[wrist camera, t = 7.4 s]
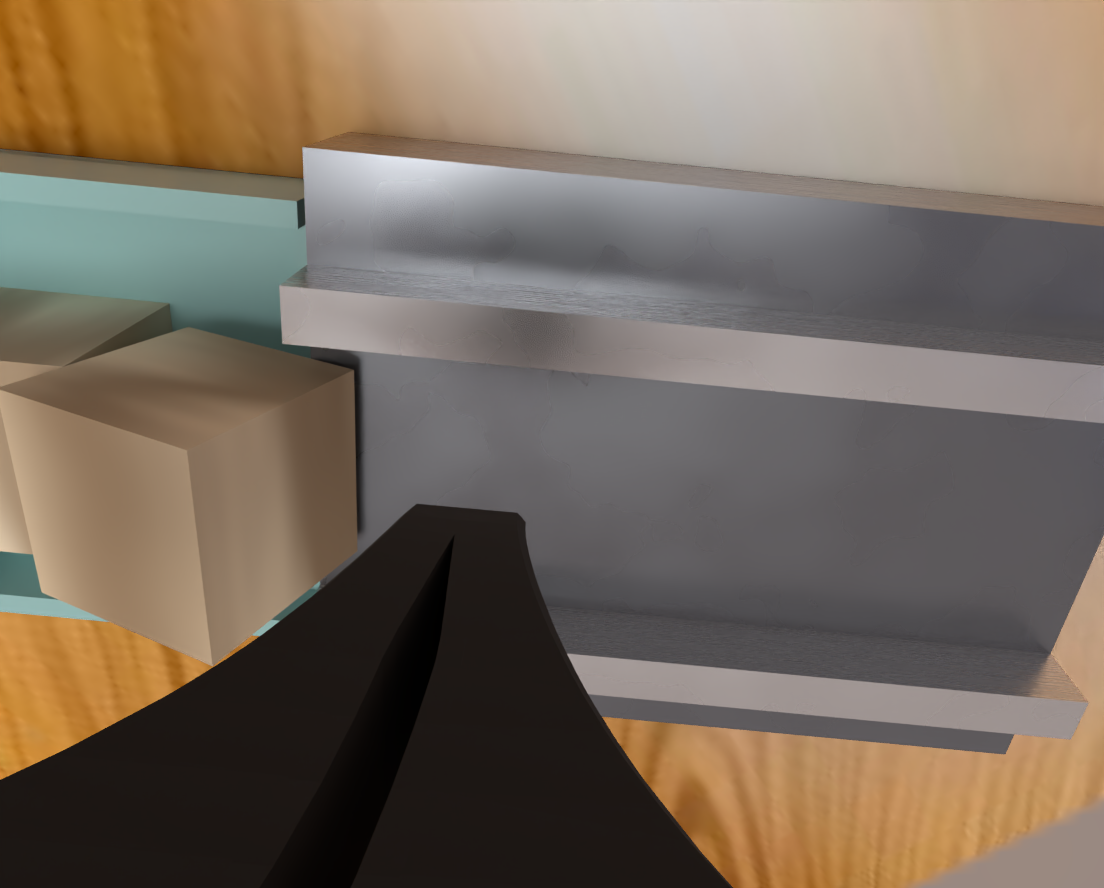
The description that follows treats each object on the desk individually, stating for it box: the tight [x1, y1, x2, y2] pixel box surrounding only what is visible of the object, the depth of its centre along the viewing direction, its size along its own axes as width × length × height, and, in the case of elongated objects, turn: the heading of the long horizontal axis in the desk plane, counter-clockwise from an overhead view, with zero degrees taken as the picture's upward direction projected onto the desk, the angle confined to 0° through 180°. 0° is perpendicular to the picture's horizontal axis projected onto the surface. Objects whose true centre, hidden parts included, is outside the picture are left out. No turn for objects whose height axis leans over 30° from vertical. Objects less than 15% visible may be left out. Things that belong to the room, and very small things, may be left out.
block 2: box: [0, 327, 357, 666], centre depth 15 cm, size 4×4×4 cm
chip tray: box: [0, 149, 320, 636], centre depth 18 cm, size 9×10×2 cm
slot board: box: [279, 132, 1104, 754], centre depth 17 cm, size 16×12×4 cm
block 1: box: [0, 287, 173, 554], centre depth 17 cm, size 4×4×4 cm
